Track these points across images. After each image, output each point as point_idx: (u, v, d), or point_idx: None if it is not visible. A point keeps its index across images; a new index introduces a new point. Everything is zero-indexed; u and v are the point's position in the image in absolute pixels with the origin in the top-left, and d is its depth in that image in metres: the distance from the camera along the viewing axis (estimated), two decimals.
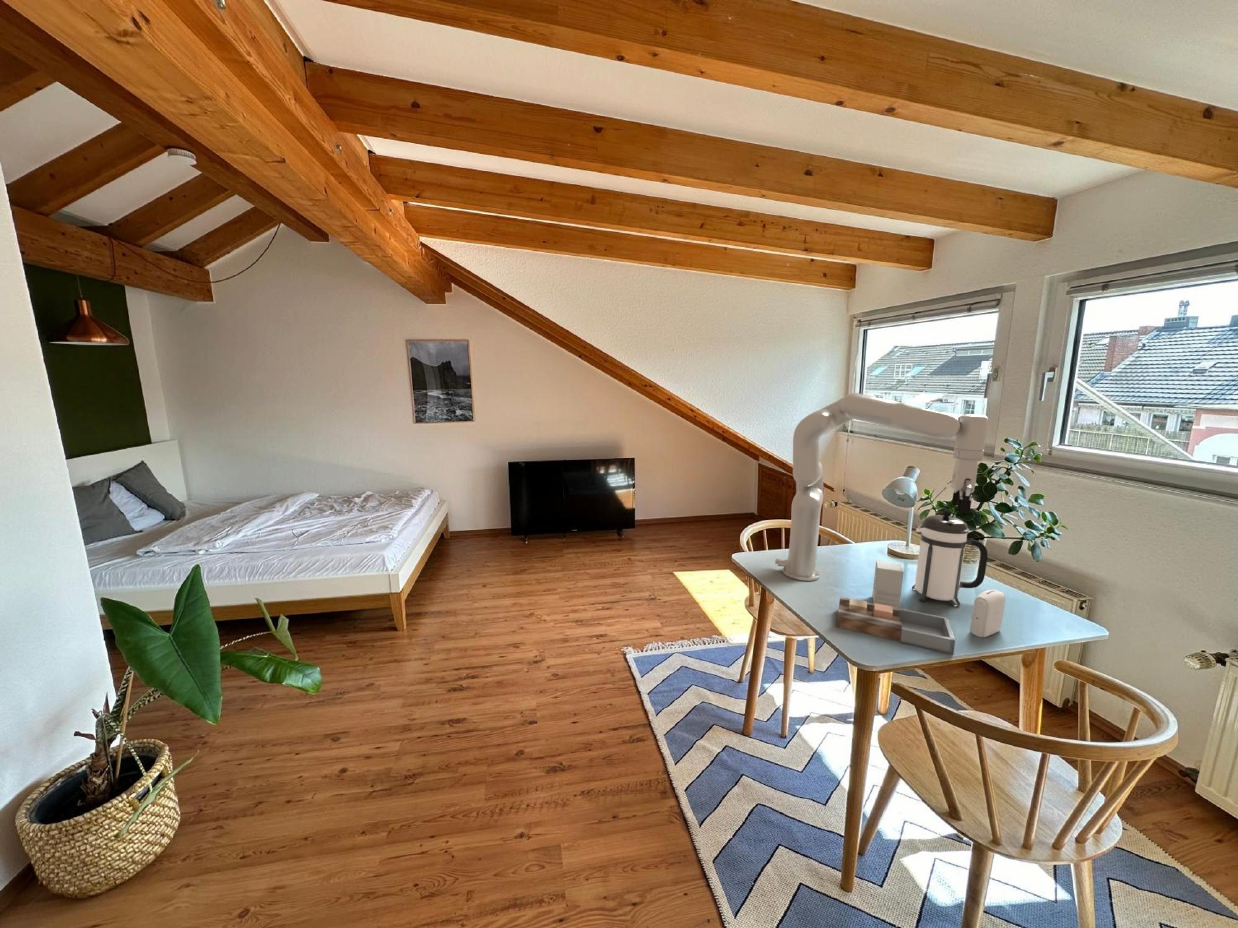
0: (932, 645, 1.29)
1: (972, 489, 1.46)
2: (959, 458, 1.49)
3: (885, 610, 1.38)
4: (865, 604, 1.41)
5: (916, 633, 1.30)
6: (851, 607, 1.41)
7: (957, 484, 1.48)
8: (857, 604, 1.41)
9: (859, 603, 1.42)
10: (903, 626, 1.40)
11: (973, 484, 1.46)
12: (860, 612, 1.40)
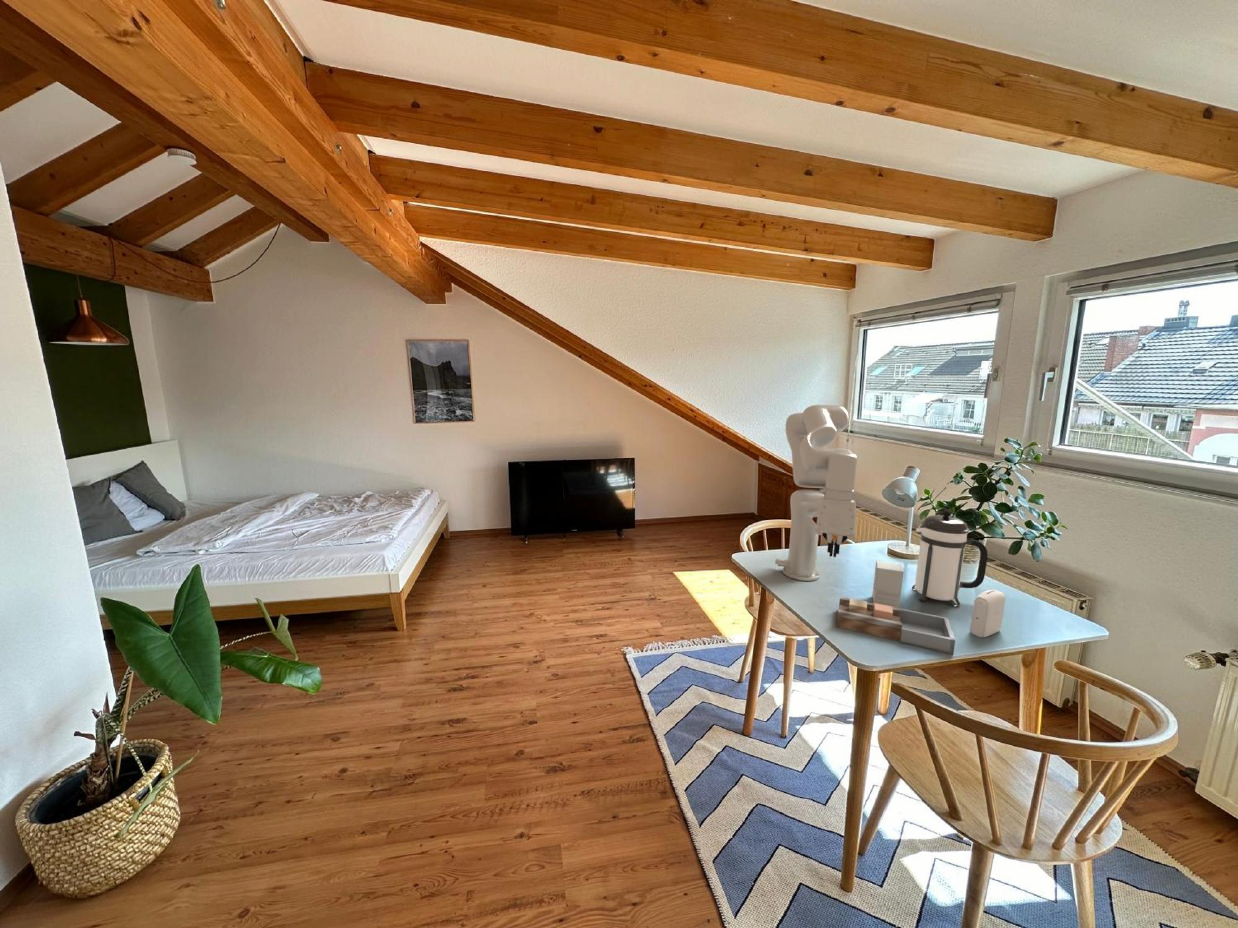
0: (932, 645, 1.29)
1: None
2: (848, 501, 1.37)
3: (885, 610, 1.38)
4: (865, 604, 1.41)
5: (916, 633, 1.30)
6: (851, 607, 1.41)
7: (854, 528, 1.37)
8: (857, 604, 1.41)
9: (859, 603, 1.42)
10: (903, 626, 1.40)
11: None
12: (860, 612, 1.40)
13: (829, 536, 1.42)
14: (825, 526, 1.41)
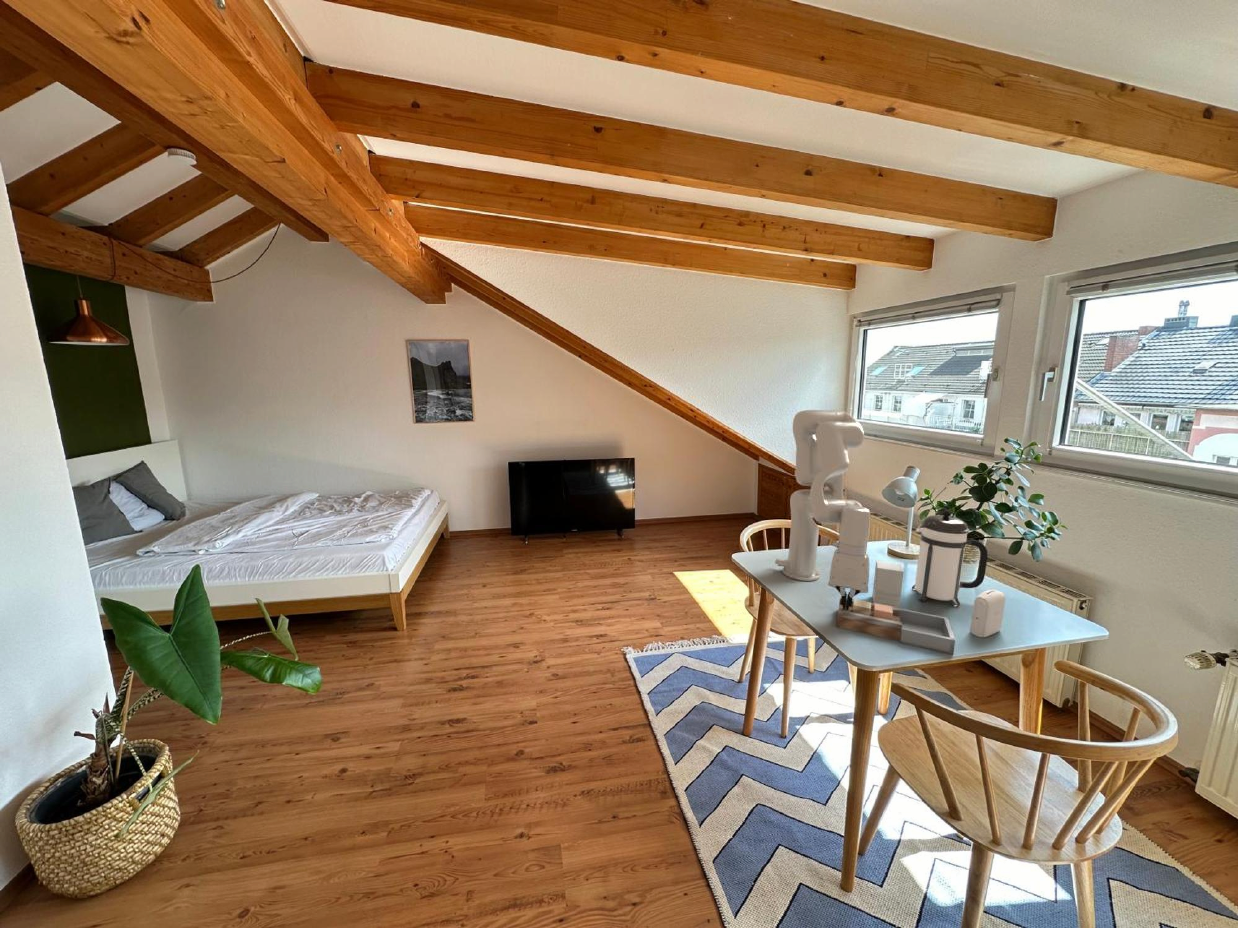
0: (932, 645, 1.29)
1: None
2: (862, 556, 1.37)
3: (885, 610, 1.38)
4: (869, 605, 1.40)
5: (916, 633, 1.30)
6: (854, 608, 1.40)
7: (867, 583, 1.38)
8: (860, 605, 1.40)
9: (863, 604, 1.41)
10: (903, 626, 1.40)
11: None
12: (864, 613, 1.39)
13: (842, 589, 1.42)
14: (838, 579, 1.41)
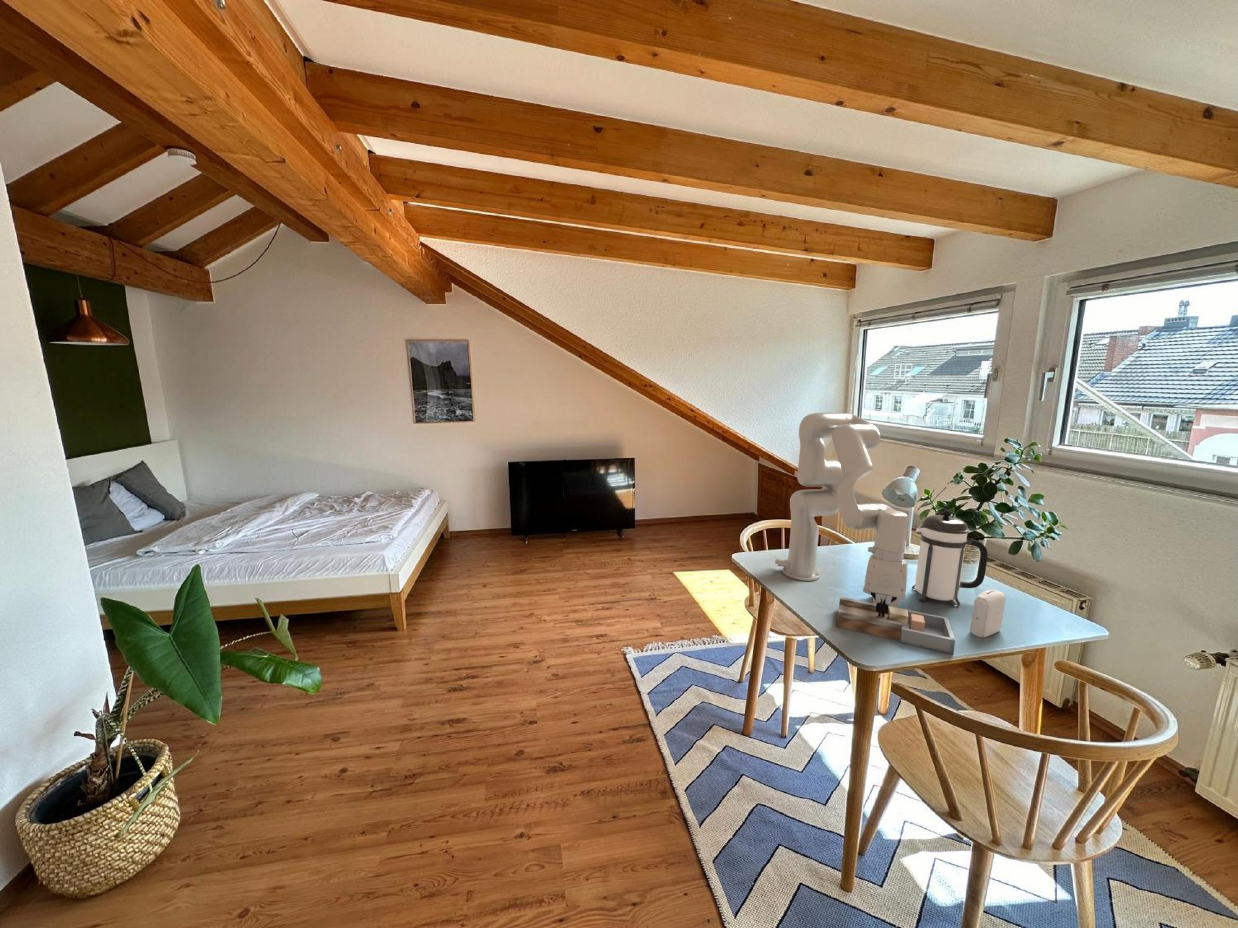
0: (932, 645, 1.29)
1: None
2: (899, 562, 1.33)
3: None
4: (906, 613, 1.36)
5: (916, 633, 1.30)
6: (891, 616, 1.36)
7: (905, 590, 1.34)
8: (897, 612, 1.36)
9: (899, 612, 1.37)
10: (903, 626, 1.40)
11: None
12: (901, 621, 1.35)
13: (878, 596, 1.38)
14: (874, 586, 1.37)
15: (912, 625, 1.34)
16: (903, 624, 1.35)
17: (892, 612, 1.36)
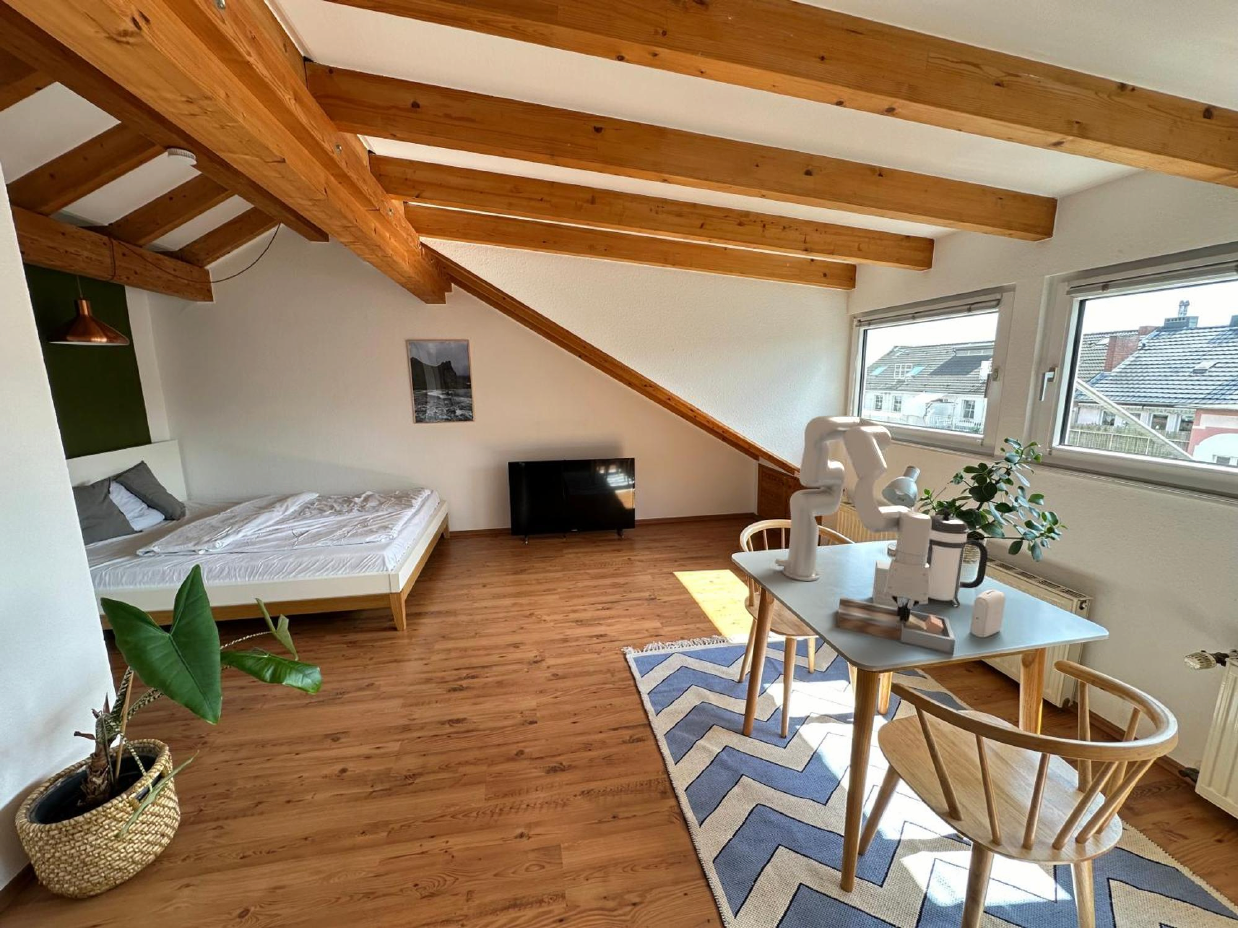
0: (932, 645, 1.29)
1: None
2: (922, 565, 1.31)
3: None
4: (924, 625, 1.35)
5: (916, 633, 1.30)
6: (909, 624, 1.34)
7: (928, 593, 1.31)
8: (916, 622, 1.34)
9: (918, 622, 1.35)
10: None
11: None
12: None
13: (900, 599, 1.36)
14: (896, 590, 1.34)
15: (929, 626, 1.32)
16: None
17: (911, 620, 1.34)
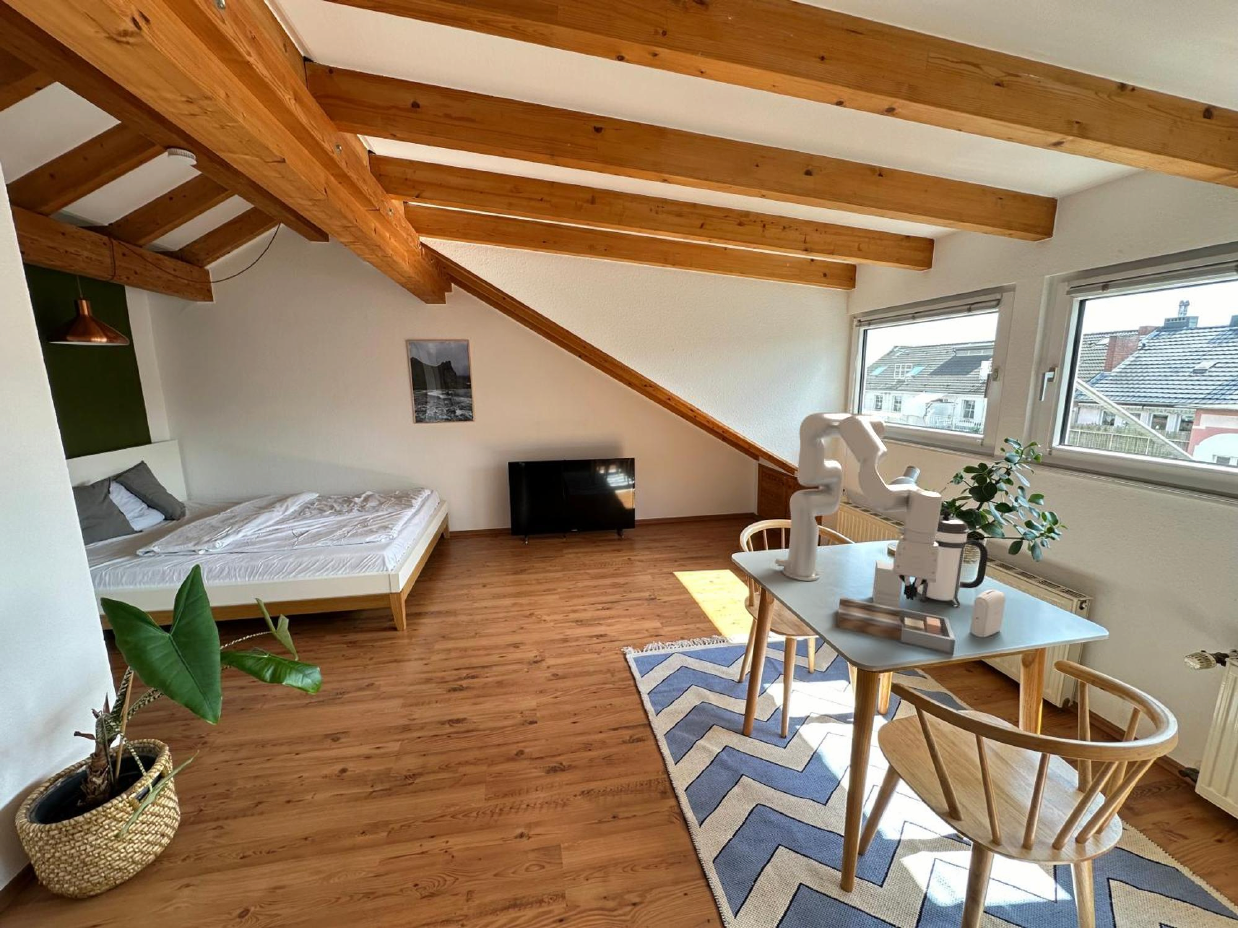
0: (932, 645, 1.29)
1: None
2: (931, 543, 1.29)
3: (939, 634, 1.32)
4: (922, 624, 1.35)
5: (916, 633, 1.30)
6: (906, 627, 1.35)
7: (936, 572, 1.30)
8: (913, 624, 1.35)
9: (915, 623, 1.35)
10: (903, 626, 1.40)
11: None
12: None
13: (907, 578, 1.34)
14: (904, 568, 1.33)
15: (928, 628, 1.33)
16: None
17: (907, 623, 1.35)
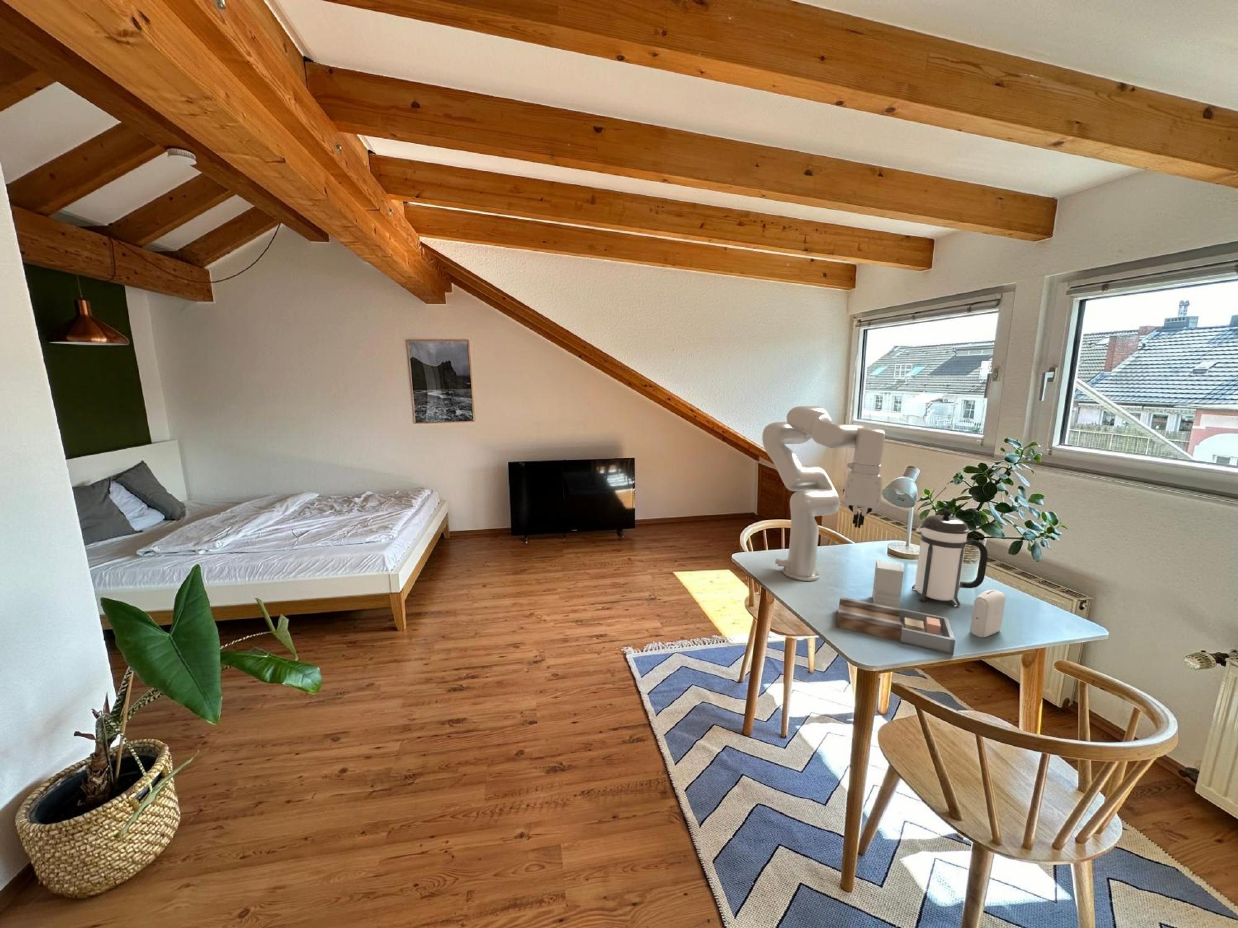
0: (932, 645, 1.29)
1: None
2: (875, 475, 1.44)
3: (939, 634, 1.32)
4: (922, 624, 1.35)
5: (916, 633, 1.30)
6: (906, 627, 1.35)
7: (879, 501, 1.45)
8: (913, 624, 1.35)
9: (915, 623, 1.35)
10: (903, 626, 1.40)
11: None
12: None
13: (855, 508, 1.49)
14: (851, 498, 1.48)
15: (928, 628, 1.33)
16: None
17: (907, 623, 1.35)
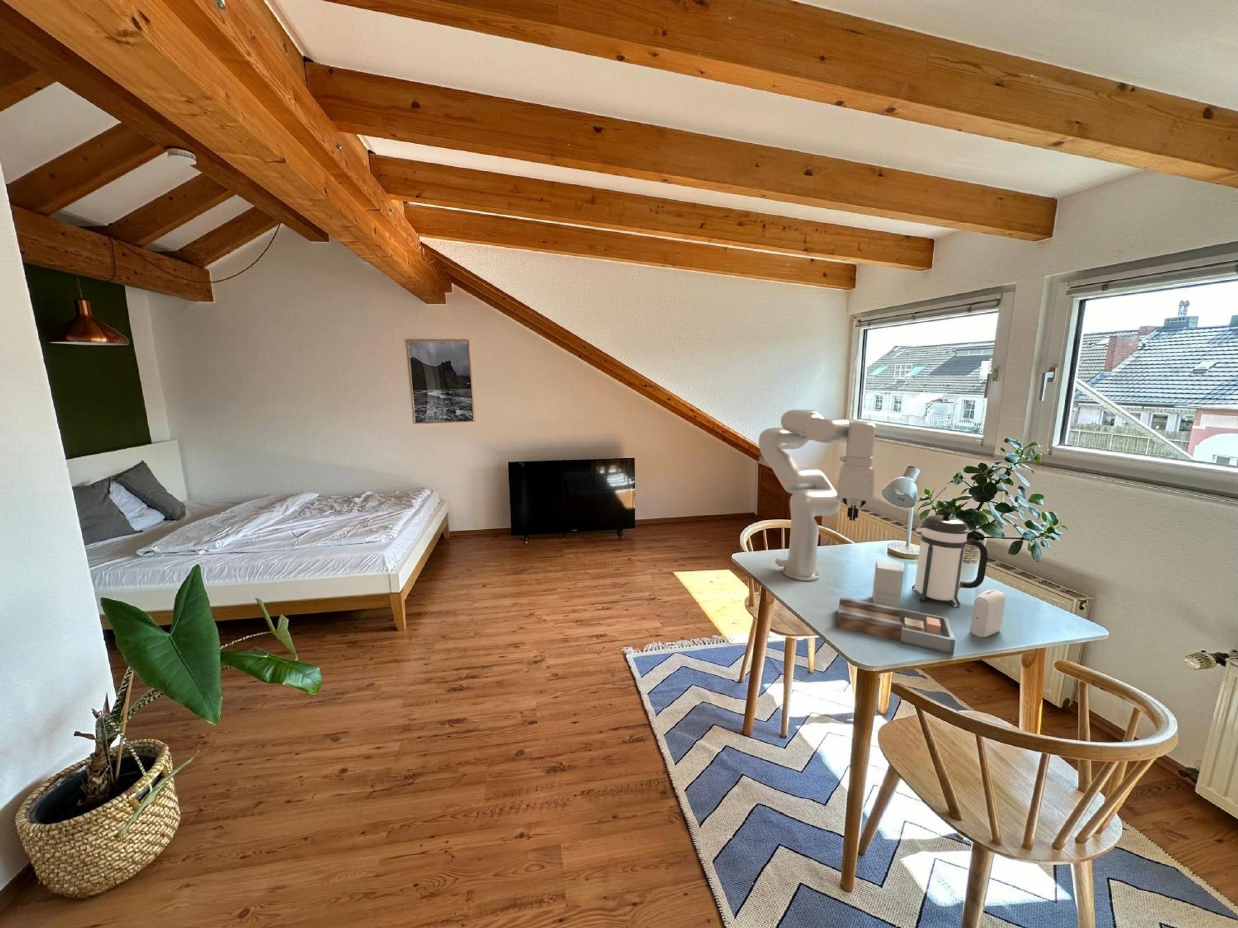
0: (932, 645, 1.29)
1: None
2: (867, 467, 1.46)
3: (939, 634, 1.32)
4: (922, 624, 1.35)
5: (916, 633, 1.30)
6: (906, 627, 1.35)
7: (872, 493, 1.47)
8: (913, 624, 1.35)
9: (915, 623, 1.35)
10: (903, 626, 1.40)
11: None
12: None
13: (849, 501, 1.51)
14: (845, 491, 1.50)
15: (928, 628, 1.33)
16: None
17: (907, 623, 1.35)
